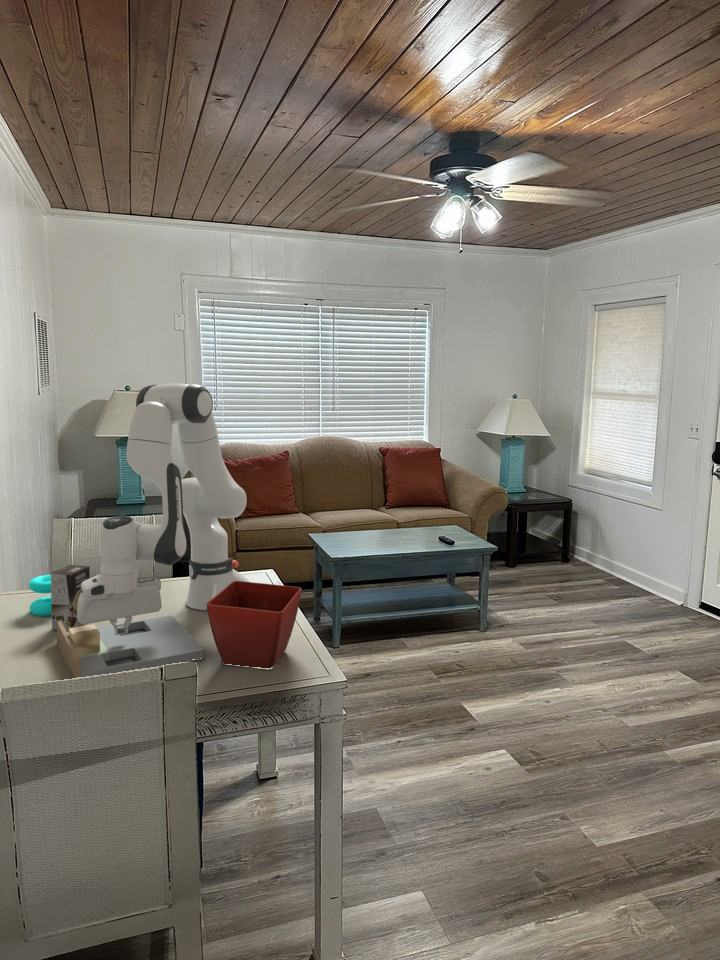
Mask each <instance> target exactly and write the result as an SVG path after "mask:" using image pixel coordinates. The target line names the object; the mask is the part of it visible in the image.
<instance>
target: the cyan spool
mask: <svg viewBox="0 0 720 960" xmlns="http://www.w3.org/2000/svg"><path fill="white" fill-rule="evenodd" d="M28 588H29V589H30V591H32V592H33V593H37V594H51V574H44V575H38V576H35V577H33V578H32V579H31V580H30V581H29V582H28ZM29 611H30V612H31V613H32V614H33V615H35V616H41V617H47V616H52V607H51V595H50V596H43V597H40V598H37V599H35V600H33V601H32V602H31V603H30V605H29Z"/></svg>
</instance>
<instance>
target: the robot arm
mask: <svg viewBox="0 0 720 960" xmlns="http://www.w3.org/2000/svg"><path fill="white" fill-rule="evenodd" d="M213 403H214V400H213V397H212V395H211V393H210V392H209V390H208V388H207V387H206V386H204V385H203V386H202V385H200V384H196V383H190V384H189V383H178V382H177V383H175V382H172V383H166V384H165V383H163V384H151V385H146V386H144V387H143V388H141V389H140V391H139V392H138V394H137V396H136V400H135V408H134V409H135V410H134V413H133V414H132V419H131V421H130V426H129V431H128V438H127V445H126V461H127V463H128V465H129V466H130V467H131V469H132V470H133V471H134V472H135V473H136V474H137V475H139V476H141V477H143V478H145V480H148V481H151V482H152V483H153V484H155V485H156V486H157V487H158V488H159V490H160V493H161V495H162V516H163V517H162V518H163V519H162V520H163V523H162V524H161V525H160V524H151V523H149V524H148V523H145V522H137V521H135V520H134V519H133V518H132V517H131V516H128V515H115V516H112V517H108V518H107V519H105V520H104V521H103V522H102V523H101V526H100V531H99V544H98V545H99V547H98V548H99V557H100V561H101V565H100V570H99V571H100V572H99V574H97V575H95V576H93V577H90V579H88V580H85V581H83V582H82V583H81V589H82V593H81V594H80V595H79V597H78V603H77V619H78V621H79V622H80V623H81V624H83V625H82V626H86V625H91V624H96V623H101V622H106V621H109V622H110V625H113V627H114V632H115V635H119V634H125V633H128V626H129V624H130V623H131V622H132V621H133V617H134V616H135V617H136V616H141V615H146V614H153V613H157V612H158V613H159V612H160V611H161V610H162V605H163V603H162V597H161V589H162V581H161V579H160V578H159V577H156V576H153V575H152V576H149V577H140V578H139V570H138V564H137V561H141V562H149V563H150V562H151V563H157V564H161V565H165V566H173V565H175V564H176V563H177V562H179V561H180V560H182V559H183V557H184V556H185V554H186V552H187V549H188V548H187V547H188V543H187V542H188V540H187V536H186V535H187V534H186V529H185V520H186V524H187V526H188V527H187V528H188V530H189V535H190V559H189V564H188V569H189V571H188V572H189V574H188V575H189V578H190V579H189V588H188V592H187V597H186V600H185V605H186V606H187V607H188V608H191V609H194V610H198V611H199V610H200V611H207V603H208V602H209V601H210V600H211V599H212V598H214V597H215V596H216V595H217V594H218V593H220V592H221V591H222V590H223V589H224V588H226V587H227V586H228V585H229V584H230V583H231V582H233V581H244V582H250V581H249V579H248V578H247V577H246V576H244V575H242V574H241V573H240V572H239V571H237V570H235V569H234V568H238V567H239V566H240V564H239V561H237V560H236V559H232V558H230V557H229V556H228V553H229V552H228V545H229V543H228V542H229V541H228V539H229V538H228V533H227V531H226V530H225V529H224V527H222V526H221V524H220V522H219V520H218V519H233V518H235V519H236V518H239V517H240V516H241V515H242V514H243V512H244V511H245V509H246V507H247V501H248V500H247V499H248V497H247V493H246V491H245V490H244V488H243V487H241V485H239V484H238V483H237V482H236V481H235V480H234V478H233V477H232V475H231V473H230V471H229V470H228V468H227V466H226V464H225V461H224V459H223V455H222V449H221V445H220V441H219V440H220V439H219V434H218V429H217V424H216V420H215V418H214V414H213V406H214V404H213ZM175 424H177V427H178V428H177V429H178V438H179V442H180V446H181V447H180V448H181V452H182V453H181V455H182V459H183V463H184V466H185V467H186V468H187V470H188V471H190V472H191V473H192V475H194V476H193V477H187V478H182V476H181V471H180V468H179V467H178V465H176V464H175V463H174V461H173V458H172V457H173V456H172V440H173V425H175ZM184 518H185V520H184ZM118 619H125V621H124V622H123V623H124V624H123V625H121V626H116V624H118V623H117V622H118Z"/></svg>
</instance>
